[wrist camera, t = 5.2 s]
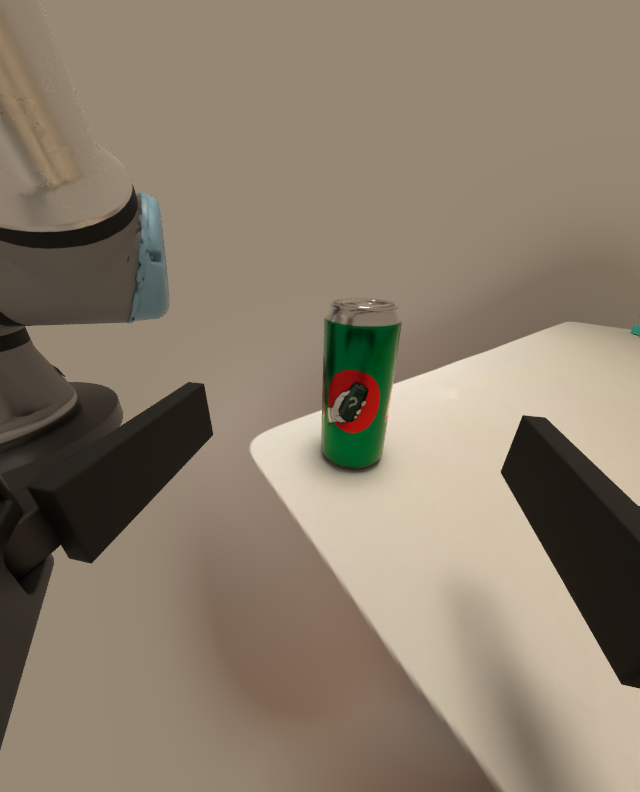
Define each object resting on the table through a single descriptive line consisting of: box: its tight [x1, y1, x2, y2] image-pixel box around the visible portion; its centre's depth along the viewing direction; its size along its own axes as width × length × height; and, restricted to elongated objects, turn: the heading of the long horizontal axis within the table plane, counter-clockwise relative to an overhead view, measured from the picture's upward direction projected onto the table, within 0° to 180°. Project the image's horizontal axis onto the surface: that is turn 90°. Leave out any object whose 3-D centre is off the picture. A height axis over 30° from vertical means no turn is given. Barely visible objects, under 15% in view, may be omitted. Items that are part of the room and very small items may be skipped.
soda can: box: [321, 299, 402, 469], centre depth 21 cm, size 5×5×12 cm
